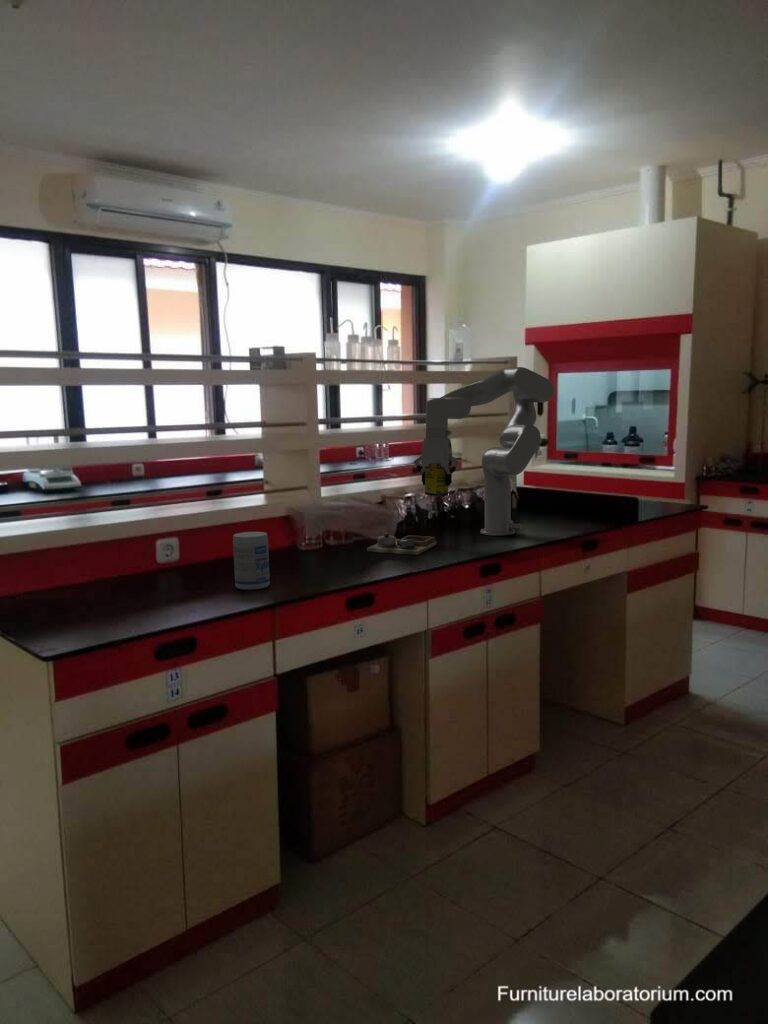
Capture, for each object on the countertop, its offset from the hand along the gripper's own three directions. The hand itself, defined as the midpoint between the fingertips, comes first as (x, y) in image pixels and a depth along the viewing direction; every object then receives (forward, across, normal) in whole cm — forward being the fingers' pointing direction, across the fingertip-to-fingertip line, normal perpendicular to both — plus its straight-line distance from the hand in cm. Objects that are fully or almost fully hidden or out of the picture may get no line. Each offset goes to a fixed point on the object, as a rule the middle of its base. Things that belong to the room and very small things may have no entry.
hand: (436, 484), depth 270 cm
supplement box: (+4, 0, 0) cm, 4 cm away
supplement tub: (+22, +26, +75) cm, 83 cm away
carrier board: (+21, +8, +13) cm, 25 cm away
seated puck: (+19, +4, +17) cm, 26 cm away
